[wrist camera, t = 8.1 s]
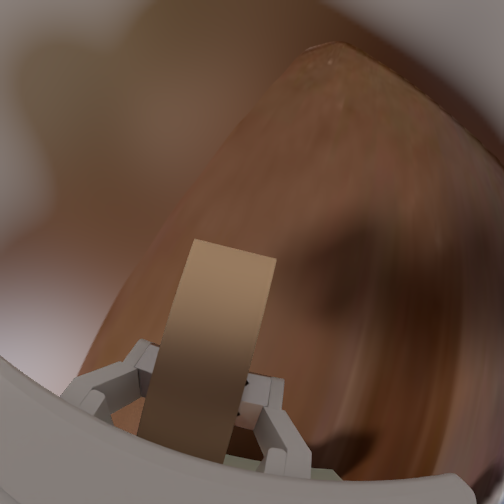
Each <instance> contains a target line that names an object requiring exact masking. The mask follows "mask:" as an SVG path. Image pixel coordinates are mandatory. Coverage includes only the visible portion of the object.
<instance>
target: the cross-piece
mask: <svg viewBox="0 0 504 504" xmlns="http://www.w3.org/2000/svg"><path fill="white" fill-rule="evenodd" d="M276 260H277V259H275V258H270V257H266V256H262V255H258V254H254V253H250V252H246V251H242V250H238V249H234V248H230V247H226V246H222V245H218V244H214V243H210V242H205V241H201V240H197V239H194V242H193V244H192V247H191V250H190V253H189V256H188V259H187V262H186V265H185V268H184V271H183V274H182V277H181V280H180V283H179V286H178V289H177V292H176V295H175V298H174V301H173V304H172V308H171V311H170V314H169V317H168V321H167V324H166V327H165V330H164V334H163V337H162V341H161V344H160V347H159V351H158V354H157V358H156V361H155V365H154V369H153V372H152V376H151V380H150V383H149V387H148V391H147V395H146V399H145V403H144V407H143V411H142V415H141V419H140V423H139V427H138V432H137V436H138V437H140V438H143V439H145V440H148V441H150V442H153V443H156V444H158V445H161V446H164V447H167V448H169V449H172V450H175V451H178V452H181V453H184V454H188V455H191V456H194V457H197V458H201V459H204V460H208V461H212V462H216V463H219V464H223V462H224V459H225V455H226V452H227V448H228V445H229V441H230V438H231V434H232V431H233V427H234V424H235V420H236V417H237V413H238V409H239V406H240V402H241V398H242V395H243V391H244V387H245V383H246V380H247V376H248V372H249V368H250V365H251V361H252V357H253V353H254V349H255V345H256V341H257V338H258V334H259V330H260V326H261V322H262V318H263V314H264V310H265V306H266V302H267V298H268V294H269V289H270V285H271V281H272V277H273V273H274V269H275V264H276Z"/></svg>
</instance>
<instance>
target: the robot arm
mask: <svg viewBox="0 0 504 504" xmlns="http://www.w3.org/2000/svg"><path fill="white" fill-rule="evenodd" d="M159 347H160V345H158V344H155V343H152V342H149V341H147V340H144V339H140V340H139V341H138V342H137V343H136V345H135V346H134V347H133V349H132V350H131V352H130V353H129V354H128V356H127V357H126V358H125V360H124V361H123V362H120V361H119V362H117V363H114V364H111V365H109V366H106V367H103V368H101V369H98V370H95V371H92V372H90V373H87V374H84V375H81V376H78V377H76V378H74V379H73V381H72V382H71V383H70V384H69V386H68V387H67V388H66V389H65V391H64V392H63V393H62V395H61V396H60V397H59V396H57V395H55V394H54V393H52V392H51V391H49V390H47V389H46V388H44V387H43V386H41V385H40V384H38V383H37V382H35V381H34V380H32V379H31V378H29V377H28V376H27V375H25V374H24V373H23V372H21V371H20V370H18V369H17V368H16V367H14V366H13V365H12V364H11V363H9V362H8V361H7V360H5V359H4V358H3V357H2V356H0V504H477V502H476V497H475V494H474V492H473V490H472V489H471V488H470V487H469V486H468V485H467V484H466V483H465V482H464V481H463V480H462V479H461V478H460V477H459V476H457V475H456V474H454V473H447V474H441V475H435V476H428V477H420V478H411V479H399V480H383V481H334V480H317V479H310V478H311V459H312V452H311V451H310V449H309V448H308V446H307V445H306V443H305V441H304V440H303V438H302V437H301V435H300V434H299V432H298V431H297V429H296V427H295V426H294V424H293V423H292V421H291V420H290V418H289V416H288V415H287V413H286V412H285V411H284V410H282V401H283V391H284V379H281V378H276V377H271V376H267V375H262V374H258V373H253V372H248V376H247V380H246V383H245V387H244V391H243V395H242V398H241V402H240V406H239V409H238V413H237V417H236V420H235V424H234V426H238V427H242V428H246V429H250V430H253V432H254V434H255V437H256V439H257V441H258V444H259V446H260V448H261V451H262V453H263V455H264V458H263V460H262V461H261V463H260V464H259V466H258V468H257V469H256V471H251V470H246V469H241V468H236V467H232V466H228V465H224V464H219V463H216V462H212V461H208V460H204V459H201V458H197V457H194V456H191V455H188V454H184V453H181V452H178V451H175V450H172V449H169V448H167V447H164V446H161V445H158V444H156V443H153V442H150V441H148V440H145V439H143V438H140V437H138V436H135V435H133V434H131V433H128V432H126V431H124V430H121V429H119V428H117V427H115V426H114V425H113V422H112V418H111V415H110V414H112V413H114V412H116V411H118V410H119V409H121V408H123V407H125V406H126V405H128V404H130V403H132V402H133V401H135V400H137V399H139V398H140V397H141V396H142V397H145V398H146V395H147V391H148V387H149V383H150V380H151V376H152V372H153V369H154V365H155V361H156V358H157V354H158V351H159Z"/></svg>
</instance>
